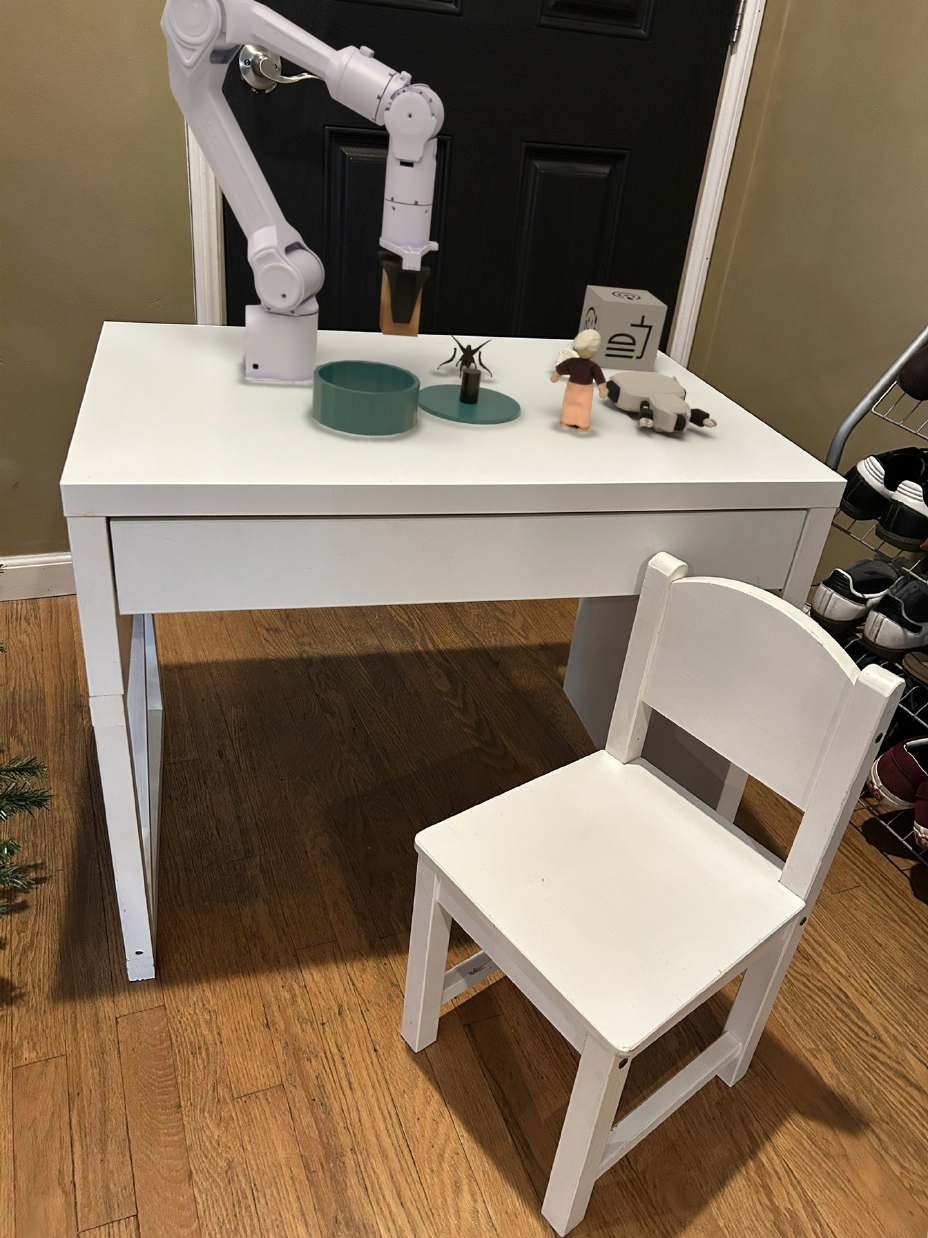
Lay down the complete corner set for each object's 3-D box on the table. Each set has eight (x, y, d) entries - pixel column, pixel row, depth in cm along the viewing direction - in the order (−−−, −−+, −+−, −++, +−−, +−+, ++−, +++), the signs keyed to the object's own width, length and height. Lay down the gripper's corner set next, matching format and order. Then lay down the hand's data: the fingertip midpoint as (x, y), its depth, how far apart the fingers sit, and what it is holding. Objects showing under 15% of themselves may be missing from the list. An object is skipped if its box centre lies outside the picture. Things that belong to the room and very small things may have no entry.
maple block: (382, 334, 117) (386, 276, 114) (379, 324, 121) (383, 268, 118) (417, 337, 118) (422, 279, 115) (413, 327, 122) (418, 271, 118)
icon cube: (652, 371, 148) (667, 306, 143) (592, 366, 146) (604, 300, 141) (633, 352, 157) (646, 290, 151) (575, 347, 155) (587, 285, 149)
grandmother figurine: (603, 431, 121) (623, 332, 115) (597, 440, 118) (617, 338, 111) (545, 418, 123) (562, 319, 116) (538, 427, 120) (555, 326, 113)
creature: (489, 393, 132) (494, 365, 138) (493, 358, 129) (499, 331, 134) (434, 385, 132) (441, 358, 138) (436, 350, 129) (444, 323, 135)
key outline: (541, 357, 147) (543, 346, 147) (571, 359, 149) (573, 348, 148) (564, 384, 137) (566, 372, 136) (597, 386, 138) (599, 374, 137)
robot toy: (717, 446, 124) (665, 399, 135) (727, 414, 121) (674, 368, 133) (634, 446, 120) (588, 397, 131) (643, 413, 117) (595, 366, 129)
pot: (315, 437, 107) (317, 390, 105) (309, 400, 118) (311, 356, 115) (422, 442, 110) (427, 396, 107) (407, 405, 121) (411, 363, 118)
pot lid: (423, 426, 115) (427, 385, 112) (408, 389, 126) (411, 351, 124) (530, 430, 118) (537, 391, 115) (506, 394, 129) (511, 357, 127)
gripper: (451, 214, 107) (438, 335, 114) (432, 194, 119) (422, 305, 126) (389, 208, 105) (380, 331, 112) (376, 189, 117) (369, 300, 124)
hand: (398, 317), depth 119 cm, fingers closed on maple block, 4 cm apart
